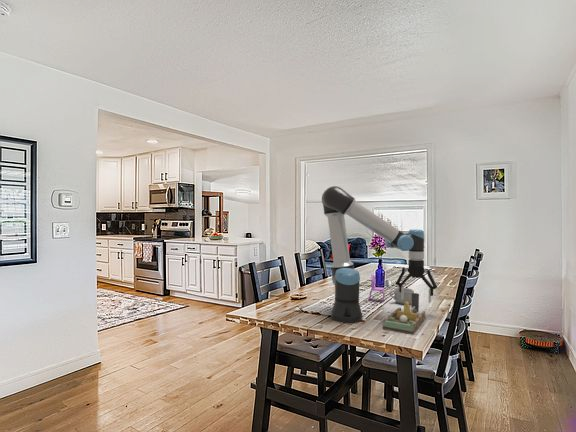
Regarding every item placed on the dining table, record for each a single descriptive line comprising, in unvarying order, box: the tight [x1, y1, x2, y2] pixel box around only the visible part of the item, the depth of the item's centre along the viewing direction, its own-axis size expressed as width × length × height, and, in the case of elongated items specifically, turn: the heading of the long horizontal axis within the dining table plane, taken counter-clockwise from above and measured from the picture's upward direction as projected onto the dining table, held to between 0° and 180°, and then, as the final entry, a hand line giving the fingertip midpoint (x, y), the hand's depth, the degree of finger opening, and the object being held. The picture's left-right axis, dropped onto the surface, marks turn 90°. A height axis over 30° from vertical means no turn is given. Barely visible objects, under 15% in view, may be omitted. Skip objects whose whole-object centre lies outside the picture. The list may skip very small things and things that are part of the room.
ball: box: [400, 315, 408, 323], centre depth 169 cm, size 4×4×4 cm
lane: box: [382, 307, 427, 335], centre depth 172 cm, size 28×13×4 cm, turn 150°
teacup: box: [388, 287, 415, 305], centre depth 212 cm, size 14×11×8 cm
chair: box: [367, 274, 386, 303], centre depth 216 cm, size 8×9×15 cm
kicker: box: [397, 292, 420, 320], centre depth 183 cm, size 21×9×9 cm, turn 149°
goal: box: [382, 317, 414, 331], centre depth 163 cm, size 8×13×2 cm, turn 60°
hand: (415, 300), depth 191 cm, fingers open, 13 cm apart
